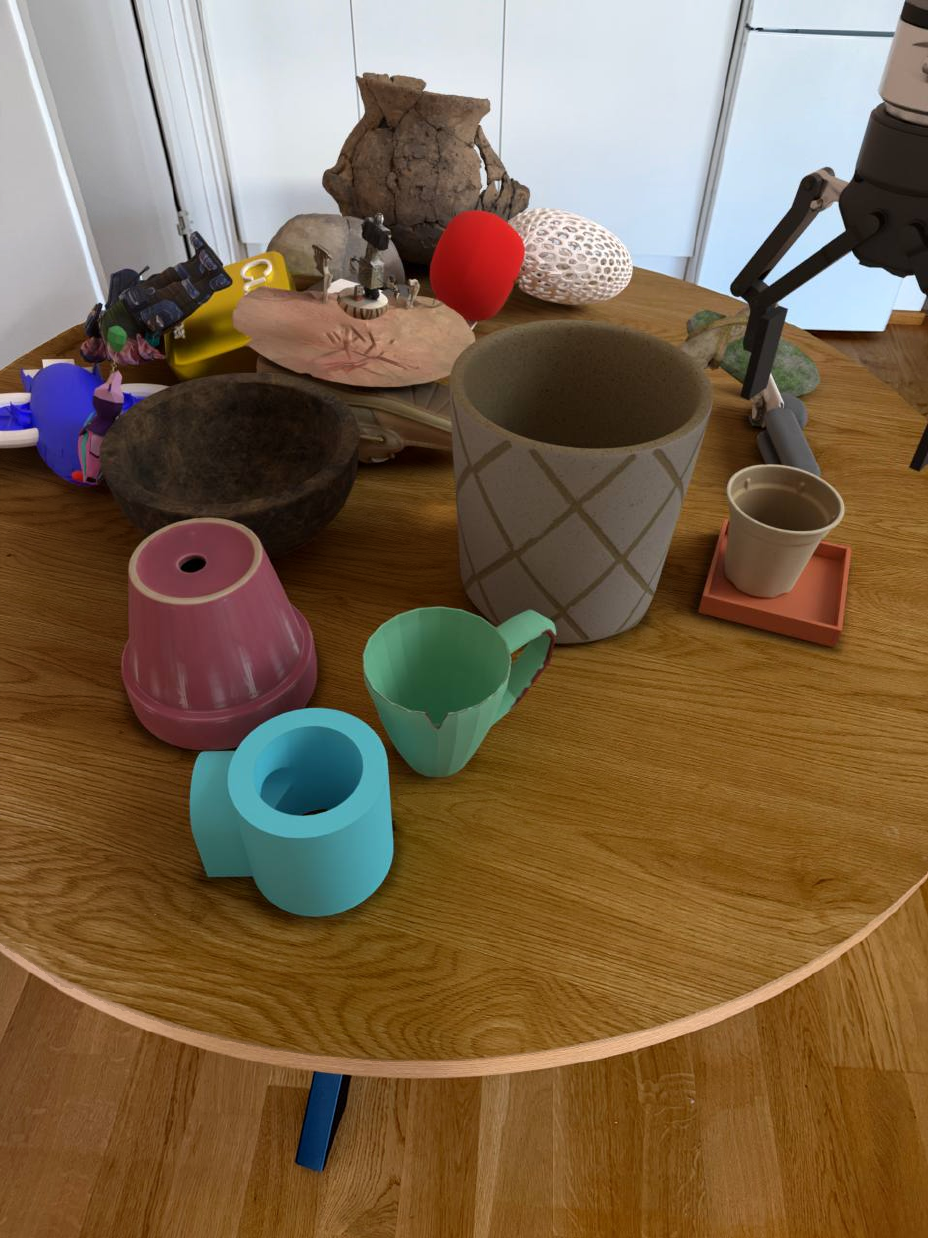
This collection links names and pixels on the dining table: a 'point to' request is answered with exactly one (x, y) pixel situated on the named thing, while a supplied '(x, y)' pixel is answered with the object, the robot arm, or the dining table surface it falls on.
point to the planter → (572, 469)
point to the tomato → (476, 264)
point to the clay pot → (419, 164)
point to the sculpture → (355, 325)
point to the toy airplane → (58, 412)
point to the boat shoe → (388, 413)
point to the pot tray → (786, 596)
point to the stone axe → (723, 346)
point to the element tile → (223, 323)
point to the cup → (298, 811)
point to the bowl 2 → (329, 246)
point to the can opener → (782, 429)
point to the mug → (450, 680)
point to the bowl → (235, 457)
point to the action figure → (152, 305)
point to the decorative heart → (570, 258)
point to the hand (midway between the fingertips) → (833, 425)
